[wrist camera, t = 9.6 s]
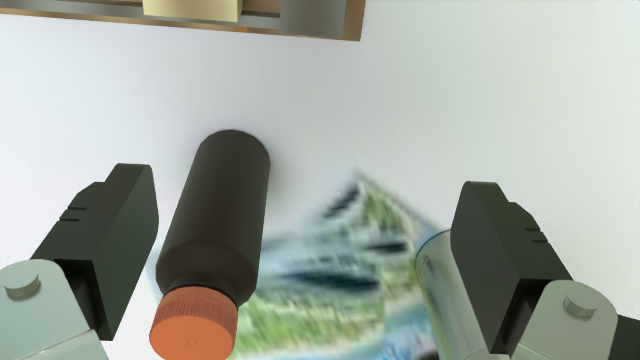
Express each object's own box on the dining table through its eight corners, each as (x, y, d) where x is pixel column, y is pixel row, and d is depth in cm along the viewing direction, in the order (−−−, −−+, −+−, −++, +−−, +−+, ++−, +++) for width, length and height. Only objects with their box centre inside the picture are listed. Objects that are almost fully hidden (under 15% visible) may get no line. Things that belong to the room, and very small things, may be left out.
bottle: (238, 114, 42) (194, 285, 25) (285, 168, 45) (274, 350, 28) (180, 153, 44) (106, 335, 27) (229, 202, 47) (189, 390, 30)
